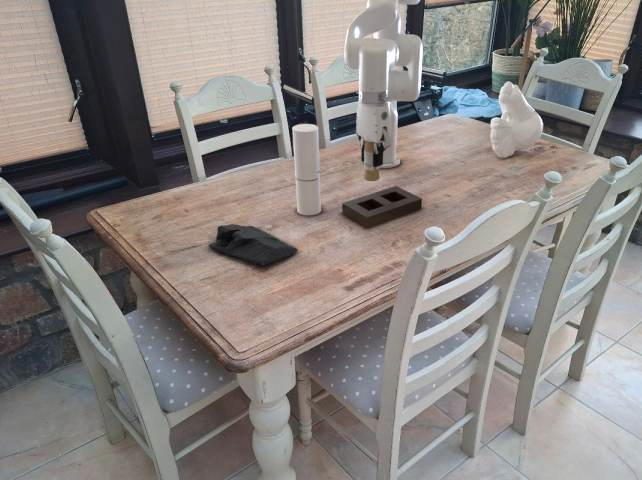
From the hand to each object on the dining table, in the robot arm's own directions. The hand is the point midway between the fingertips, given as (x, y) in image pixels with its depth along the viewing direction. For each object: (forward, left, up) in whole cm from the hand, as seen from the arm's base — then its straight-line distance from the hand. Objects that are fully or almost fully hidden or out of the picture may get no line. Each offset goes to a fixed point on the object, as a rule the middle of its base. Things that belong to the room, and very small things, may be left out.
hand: (372, 162), depth 151 cm
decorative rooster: (-11, +75, -16) cm, 78 cm away
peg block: (0, +4, -16) cm, 17 cm away
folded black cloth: (-3, -38, -16) cm, 41 cm away
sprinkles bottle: (0, 0, -5) cm, 5 cm away
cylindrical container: (-14, -13, -16) cm, 25 cm away
